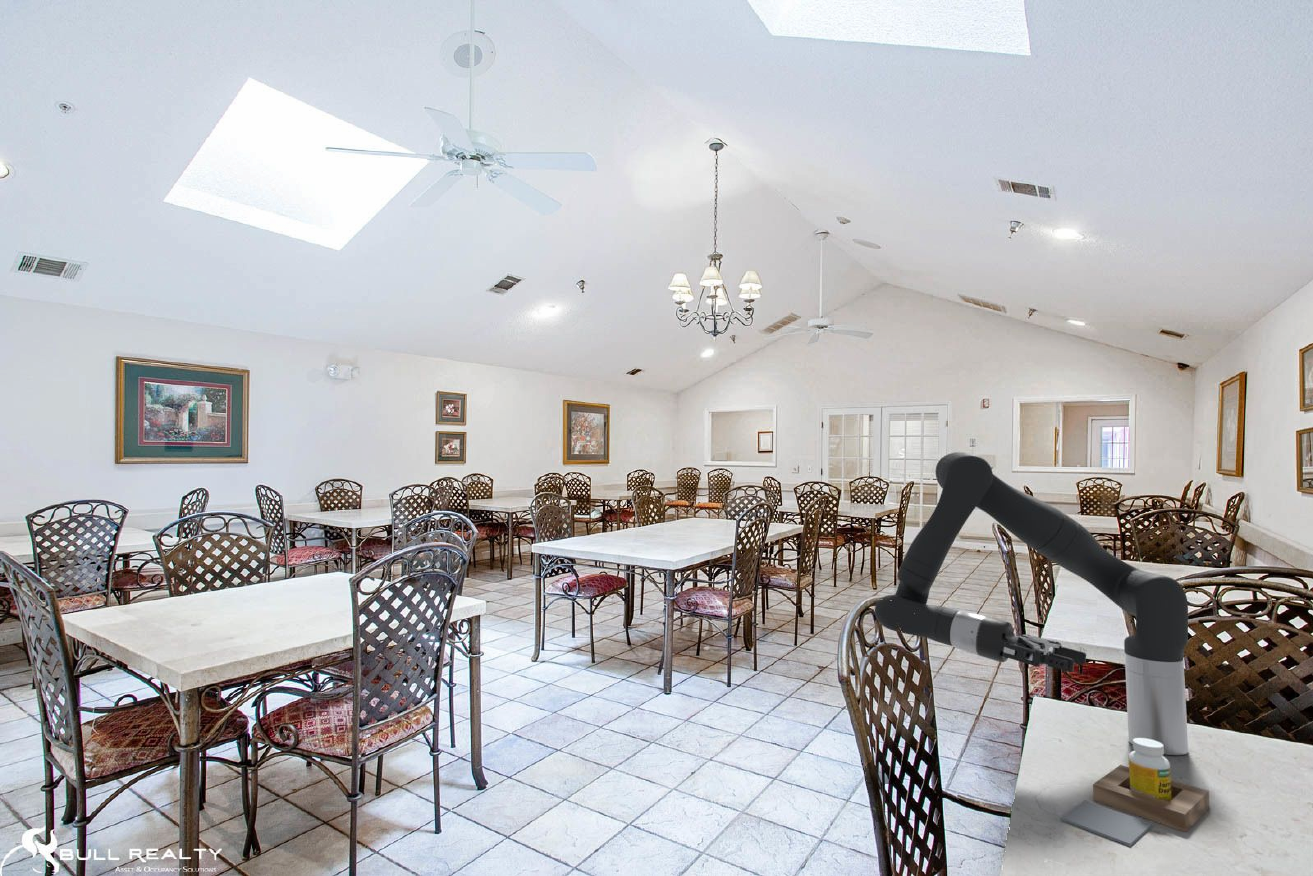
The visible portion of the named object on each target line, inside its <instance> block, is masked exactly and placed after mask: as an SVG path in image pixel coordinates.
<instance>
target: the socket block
mask: <svg viewBox="0 0 1313 876" xmlns="http://www.w3.org/2000/svg"><path fill="white" fill-rule="evenodd" d="M1092 793H1093V794H1092V797H1093V799H1092V800H1093V801H1095V802H1097V803H1101V804H1104V805H1106V806H1110V807H1112V808H1115V809H1117V810H1121V811H1124V812H1127V813H1130V814H1133V815H1134V816H1135V815H1136V816H1138V817H1141V818H1145V819H1147V820H1150V821H1153V822H1156V823H1159V824H1162V825H1165V826H1167V827H1171V828H1174V829H1176V830H1180V831H1182V832H1185V833H1186V832H1187V831H1188V830H1190V828H1191V827H1192V826H1193V825H1195V824H1196V822H1197V821H1198V820H1200V818H1202V816H1203V815H1204V814H1205V813H1206V812H1207V810H1208V809H1209V808H1211V807H1210V806H1211V803H1210V791H1209V790H1207V789H1204V788H1200V787H1197V786H1194V785H1190V784H1187V783H1184V782H1180V781H1178V780H1174V779H1171V796H1172V800H1171V801H1170V802H1167V801H1164V800H1161V799H1158V798H1154V797H1151V796H1148V795H1145V794H1142V793H1139V792H1136V791H1133V790H1130V776H1129V766H1126V765H1123V764H1120V765H1118V766H1117V767H1115V768H1114V769H1112V770H1111V771H1109V772H1108V773H1106V774H1105V775H1104V776H1102V777H1101V778H1100V779H1098V780H1097V781H1095V782H1094V783H1092ZM1192 824H1193V825H1192Z"/></svg>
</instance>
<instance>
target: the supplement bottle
mask: <svg viewBox="0 0 1313 876" xmlns="http://www.w3.org/2000/svg"><path fill="white" fill-rule="evenodd" d="M1132 748H1133V750H1132V751H1131V752H1129V754H1128V767H1129V776H1130V790H1133V791H1136V792H1139V793H1142V794H1145V795H1148V796H1151V797H1154V798H1158V799H1161V800H1164V801H1167V802H1170V801H1171V800H1172V796H1171V780H1172V779H1171V777H1172V776H1171V763H1170V761H1169V760H1168V759H1167V758H1166V757H1165V756H1164V755H1165V754H1164V746H1163V744H1162V743H1160V742H1158V741H1155V740H1152V739H1147V738H1134V739H1133V744H1132Z"/></svg>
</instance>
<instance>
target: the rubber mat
mask: <svg viewBox="0 0 1313 876" xmlns="http://www.w3.org/2000/svg"><path fill="white" fill-rule="evenodd" d="M1060 822H1065V823H1067V824H1070V825H1072V826H1075V827H1078V828H1081V829H1083V830H1086V831H1088V832H1091V833H1093V834H1096V835H1099V836H1101V837H1104V838H1107V839H1109V840H1112V841H1115V842H1117V843H1119V842H1120V844H1122V843H1123V845H1125V846H1127V847H1129V848H1130V847H1132V846H1134V844H1135V843H1136V842H1137V841H1138V840H1139V839H1140V838H1142V836H1144V835H1145V834H1146V833H1147V832H1148V831H1149V830H1151V828H1153V823H1152V822H1149V821H1147V820H1144V819H1141V818H1138V817H1135V816H1132V815H1129V814H1126V813H1123V812H1120V811H1117V810H1115V809H1111V808H1109V807H1107V806H1103V805H1100V804H1098V803H1095V802H1092V801H1088V800H1087V799H1085V800H1083V801H1082V802H1080V803H1079V804H1077V805H1076V806H1075V807H1074V808H1072V809H1070V810H1069V811H1068V812H1067V813H1065V814H1064V815H1062V816H1061V817H1060Z"/></svg>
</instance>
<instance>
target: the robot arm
mask: <svg viewBox="0 0 1313 876" xmlns="http://www.w3.org/2000/svg"><path fill="white" fill-rule="evenodd" d="M935 478H936V480H937V483H938V484H939V487H941V489H942V490H941V494H940V496H939V499H938V502H937V505H936V507H935V509H934V510H933V512H932V513H931V516H930V517H929V519H928V520H927V521H926V523H925V524H924V525H923V527H922V528H921V529H920V531H919V532H918V533H917V535H916V536H915V538H914V539H913V540H912V542H911V544H910V546H909V547H908V549H907V551H906V553H905V556H904V557H903V559H902V562H901V565H900V566H899V568H898V570H897V575H896V577H897V579H898V581H899V583H898V586H897V588H896V591H895V594H888V595H885V596H883V597H881V598H880V599H883V600H880V599H879V600H878V601H877V602H876V604H875V607H874V614H875V615H874V616H875V617H876V620H877V622H879V624H880V623H882V627H884V628H885V629H888V630H890V631H893V632H897V629H899V628H898V625H899V627H900V628H901V631H902V634H905V635H906V634H907V635H910V636H911V635H912V636H915V637H922V638H924V639H928V640H931V641H933V642H937V643H939V644H943V645H946V646H949V647H950V646H951V647H954V648H956V649H958V650H960V651H962V652H966V653H969V654H973V655H976V656H978V657H983V658H985V659H988V660H992V661H996V662H997V663H998V662H999V663H1005V662H1007V661H1008V659H1010V660H1013V661H1017V662H1020V663H1023V664H1027V665H1030V666H1033V667H1035V668H1039V667H1051V668H1053V669H1057V670H1061V671H1062V672H1064V671H1065V672H1067V673H1072V672H1073V671H1074V669H1075V664H1076V665H1078V666H1084V665H1086V663H1087V662H1086V661H1087V654H1086V653H1085V652H1084V651H1081V650H1076V649H1073V648H1069V647H1066V646H1063V645H1062V643H1061V642H1059V641H1054V640H1049V639H1045V638H1042V637H1040V636H1039V637H1038V636H1034V635H1031V634H1022V636H1021V635H1016V634H1014V627H1013V624H1012V623H1010V622H1009V621H1006V620H1002V619H998V618H993V617H990V616H986V615H982V614H979V613H975V612H970V611H962V610H957V609H953V608H950V607H945V606H941V605H940V606H939V605H932V604H931V605H929V604H927V603H928V600H929V595H930V590H931V588H932V586H933V584H934V582H935V580H936V578H937V576H938V574H939V572H940V570H941V568H942V565H943V563H944V561H945V559H946V558H947V556H948V553H949V551H950V549H951V547H952V545H953V544H954V542H955V540H956V538H957V536H958V535H959V533H960V531H962V528H963V527H964V525H965V523H966V522H967V521H968V519H969V517H970V516H971V514H972V513H973V512H974V510H975V509H976V508H977V509H979V510H981V511H983V512H984V513H985V514H987V515H988V516H990V517H991V518H992V519H994V520H995V521H996V522H998V524H1000V525H1001V526H1002V527H1003V528H1005V529H1006V530H1007V531H1008V532H1009V533H1011V534H1012V535H1013V536H1015V537H1016V538H1017V539H1018V540H1020V541H1022V542H1023V543H1024V544H1026V545H1027V546H1028V547H1030V548H1031V549H1033V550H1034V551H1036V552H1037V553H1039V554H1041V555H1042V556H1043V557H1045V558H1047V559H1048V560H1050V561H1051V562H1053V563H1055V564H1056V565H1058V566H1060V567H1061V568H1063V569H1065V570H1066V571H1068V572H1069V573H1072V574H1073V575H1076V576H1078V577H1079V578H1081V579H1083V580H1084V581H1086V582H1087V583H1088V584H1090V585H1092V586H1093V588H1096V589H1097V590H1098V591H1099V592H1101V593H1102V594H1103V595H1104V596H1105V597H1107V598H1108V599H1109V600H1110V601H1112V602H1113V603H1114V604H1115V605H1116V606H1118V607H1119V608H1120V609H1121V610H1123V611H1124V612H1125V613H1127V614H1129V615H1132V616H1133V617H1135V632H1134V634H1132V635H1129V636H1127V637H1125V639H1124V641H1123V648H1124V664H1125V665H1124V669H1125V686H1126V687H1125V688H1126V689H1125V690H1126V711H1127V732H1128V733H1127V734H1128V735H1127V736H1128V738H1127V739H1128V742H1129V743H1130V744H1132V745H1133V739H1134V738H1147V739H1152V740H1155V741H1158V742H1160V743H1162V744H1163V746H1164V754H1163V755H1169V756H1184V755H1186V754H1188V753H1189V741H1188V739H1189V738H1188V724H1187V722H1188V721H1187V720H1188V718H1187V701H1186V699H1187V698H1186V684H1185V683H1186V682H1185V681H1186V679H1185V664H1184V663H1185V662H1184V651H1185V649H1186V647H1187V645H1188V642H1189V640H1188V639H1189V603H1188V599H1187V597H1188V596H1187V593H1186V592H1185V588H1184V587H1183V586H1182V584H1181V583H1180V582H1179V581H1177V580H1176V579H1174V578H1172V577H1170V576H1166V575H1163V574H1160V573H1159V574H1158V573H1153V572H1149V571H1145V570H1142V569H1139V568H1136V567H1135V566H1133V565H1131V564H1129V563H1127V562H1125V561H1123V560H1122V559H1120V558H1118V557H1116V556H1115V555H1113V554H1111V552H1109V551H1107V550H1106V549H1105V548H1104V547H1103V546H1102V545H1101V544H1100V543H1099V541H1098V540H1097V539H1096V538H1095V537H1094V536H1093V534H1092V533H1090V532H1089V530H1088V529H1087V528H1085V527H1084V526H1083V525H1082V524H1081V523H1079V522H1078V521H1076V520H1075V519H1073V518H1072V517H1070V516H1069V515H1067V514H1066V513H1064V512H1062V511H1061V510H1059V509H1057V508H1056V507H1054V506H1052V505H1051V504H1049V503H1047V502H1044V501H1043V500H1041V499H1038V498H1037V497H1034V496H1032V495H1031V494H1028V493H1025V492H1023V491H1021V490H1019V489H1017V488H1016V487H1013V486H1011V485H1009V484H1008V483H1007V482H1005V481H1004V480H1002V479H1001V478H999V477H998V476H997V475H995V474H994V473H993V469H992V467H991V465H990V463H989V462H988V461H986V459H985V458H983V457H982V456H979V455H977V454H973V453H968V452H963V451H958V452H957V451H956V452H951V453H948V454H946V455H944V456H943V457H941V458H940V459H939V460H938V462H937V463H936V466H935ZM890 600H892V601H890ZM914 613H915V614H914ZM897 623H898V625H897ZM896 626H897V627H896ZM1050 648H1052V651H1050ZM1187 752H1188V753H1187Z"/></svg>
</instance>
